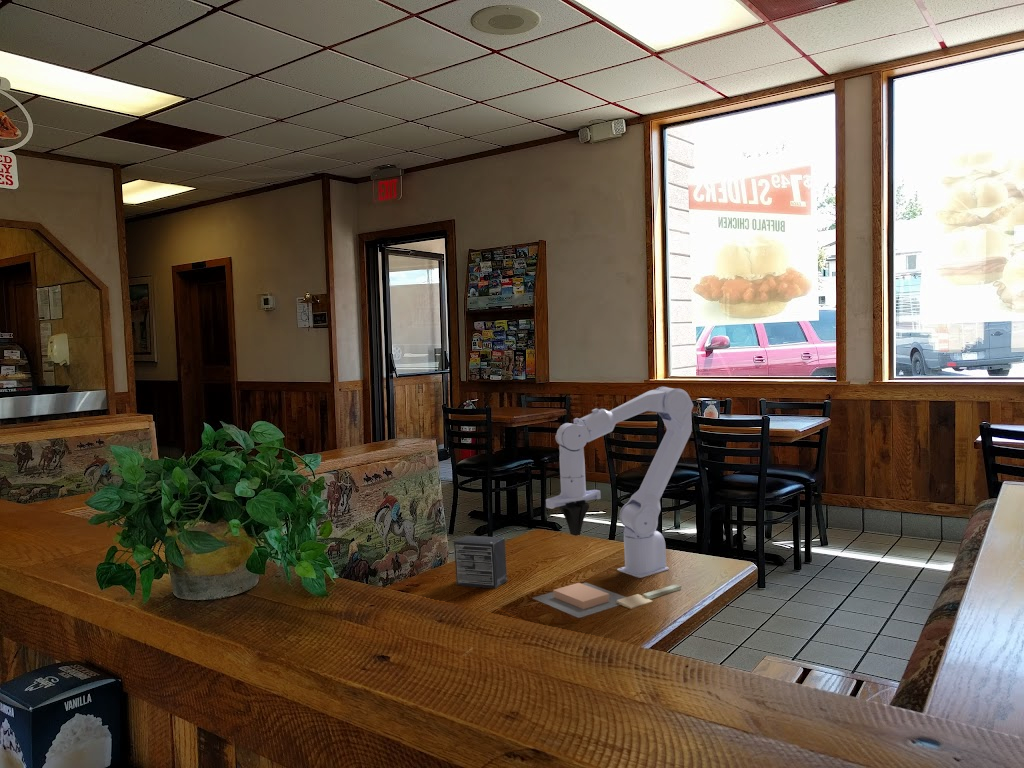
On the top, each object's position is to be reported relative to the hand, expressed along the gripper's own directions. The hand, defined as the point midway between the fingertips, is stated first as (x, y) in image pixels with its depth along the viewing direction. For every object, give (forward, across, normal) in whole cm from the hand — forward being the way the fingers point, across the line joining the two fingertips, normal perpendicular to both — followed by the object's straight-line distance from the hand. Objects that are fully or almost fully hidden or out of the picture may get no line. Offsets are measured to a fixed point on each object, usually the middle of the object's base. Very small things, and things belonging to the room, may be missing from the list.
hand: (575, 534), depth 180 cm
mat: (+10, +8, +12) cm, 18 cm away
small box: (+11, +18, -13) cm, 24 cm away
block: (+9, +5, +12) cm, 16 cm away
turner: (+10, -3, +21) cm, 24 cm away
